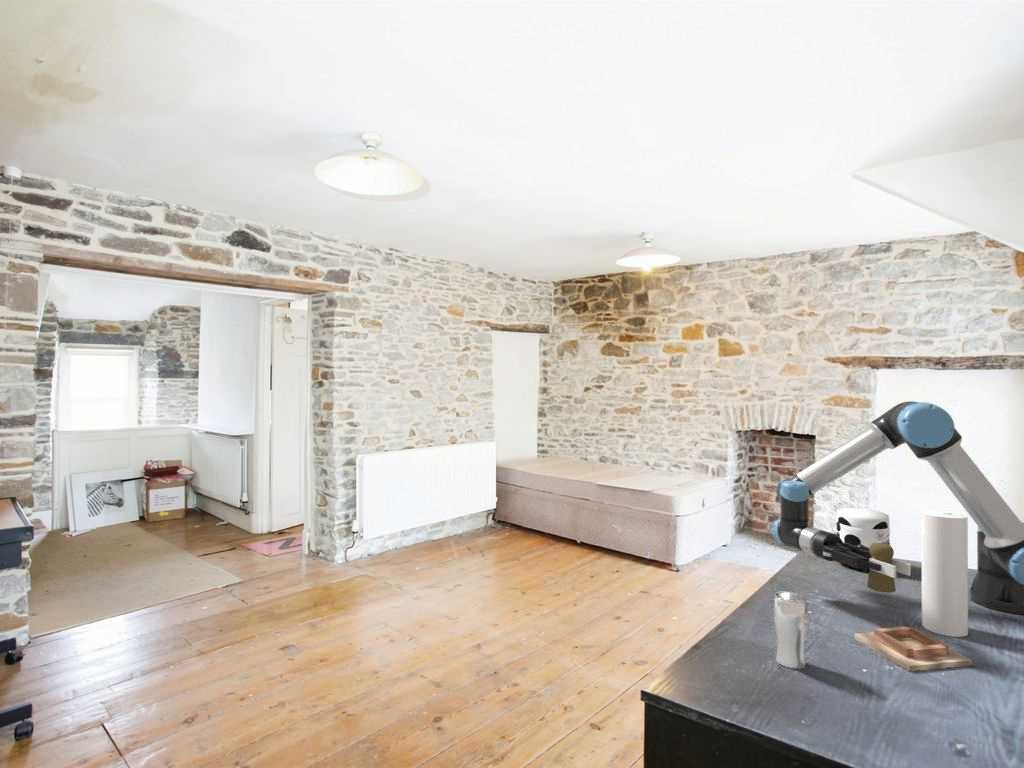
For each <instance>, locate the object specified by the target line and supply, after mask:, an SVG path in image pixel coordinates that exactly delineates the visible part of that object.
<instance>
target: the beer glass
mask: <svg viewBox="0 0 1024 768" xmlns="http://www.w3.org/2000/svg"><path fill="white" fill-rule="evenodd" d="M807 600H808V598H807V597H806V596H805V595H803V594H801V593H798V592H794V591H787V590H781V591H777V592H775V593H774V601H773V621H774V622H773V623H774V628H775V634H776V639H777V640H776V641H777V649H776V653H775V661H776V662H777V663H778V664H779V665H780V664H781V666H782V665H783V666H782V667H784V666H785V668H787V667H788V669H794V670H800V669H803V668H805V667H806V664H807V663H806V658H805V653H804V651H805V649H804V648H805V642H806V641H805V640H806V636H807V630H808V624H809V615H808V614H809V613H808V601H807Z"/></svg>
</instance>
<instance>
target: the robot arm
mask: <svg viewBox="0 0 1024 768" xmlns="http://www.w3.org/2000/svg"><path fill="white" fill-rule="evenodd" d="M868 425H869V426H868V428H866V429H865V430H863V431H862V432H861V433H859V434H857V435H856V436H854V437H853V438H851V439H849V440H848V441H846V442H844V443H843V444H842V445H839V446H838V447H837V448H835V449H834V450H832V451H830V452H829V453H828V454H826V455H824V456H822V457H820V458H819V459H818V460H817V461H815V462H813V463H812V464H809V466H807V467H805V468H804V469H802V470H801V471H799V472H798V473H796V474H795V475H793V476H791V477H789V478H786V479H783V480H781V481H780V482H778V484H777V485H776V490H775V492H776V496H777V498H778V500H779V502H780V503H779V504H780V518H778V519H777V520H775V521H774V523H773V527H772V528H771V533H772V536H773V537H772V538H773V539H774V540H775V541H776V542H777V543H780V544H782V545H784V546H785V547H788V548H792V549H795V550H798V551H801V552H803V553H806V554H809V555H811V557H813V558H815V557H818V558H819V559H822V560H825V561H828V562H836V563H840V564H843V565H846V566H847V567H851V568H854V569H857V570H858V569H860V567H862V568H863V569H862V572H865V573H869V571H870V570H873V571H876V572H879V573H882V574H884V575H887V576H890V577H893V578H894V579H896V578H897V573H898V574H899V573H900V574H902V575H906V576H908V577H909V576H911V572H912V571H911V570H912V569H911V563H908V562H905V561H901V560H898V559H896V558H891V562H892V565H891V564H888V563H885V562H882V561H879V560H875V559H873V558H872V556H871V554H870V552H869V547H866V546H864V545H862V544H858V546H854V545H851V544H849V543H845V542H842V540H841V538H840V537H839V536H838V535H836V534H837V533H833V532H831V531H830V532H829V531H826V530H823V529H820V528H817V527H813V526H810V525H809V524H810V523H809V521H810V519H809V518H810V517H809V512H810V511H809V509H810V508H809V506H810V505H809V504H810V497H811V496H813V495H815V494H816V493H818V492H819V491H820V490H822V489H824V488H825V487H827V486H828V485H830V484H832V483H834V482H835V481H837V480H838V479H840V478H842V477H843V476H845V475H847V474H848V473H850V472H852V471H853V470H854V469H856V468H858V467H860V466H861V465H862V464H865V463H866V462H867V461H869V460H871V459H872V458H874V457H876V456H877V455H879V454H880V453H882V452H883V451H886V450H888V449H891V450H895V449H896V448H897V447H899V446H901V445H903V444H906V445H907V446H908V448H909V449H910V450H911V451H912V453H913V454H914V455H915V457H916V458H917V459H919V460H923V461H927V462H928V464H929V466H931V467H932V468H933V470H934V471H935V473H936V474H937V476H938V477H939V478H940V479H941V480H942V482H943V483H944V484H945V486H946V487H947V488H948V489H949V491H950V492H951V493H952V494H953V496H954V497H955V498H956V499H957V501H958V502H959V503H960V505H961V506H962V507H963V509H965V511H966V513H967V514H968V515H969V517H971V519H972V520H973V521H974V523H975V524H976V526H977V531H976V534H977V535H976V536H977V537H976V538H977V553H976V554H977V560H976V561H977V569H976V570H977V571H976V574H975V577H974V579H973V581H972V583H971V585H970V588H969V599H971V601H972V602H974V603H976V604H978V605H980V606H983V607H986V608H989V609H992V610H996V611H1001V612H1005V613H1011V614H1018V615H1024V522H1022V521H1021V520H1020V518H1019V517H1018V516H1017V514H1016V513H1014V511H1013V510H1012V509H1011V507H1010V506H1009V505H1008V503H1007V502H1006V501H1005V500H1004V498H1003V497H1002V496H1001V495H1000V493H999V492H998V491H997V490H996V489H995V487H994V486H993V484H992V483H991V482H990V480H988V478H987V477H986V476H985V474H984V473H983V472H982V470H980V468H979V467H978V465H976V463H975V462H974V460H973V459H972V458H971V457H970V456H969V454H968V453H967V452H966V450H964V448H963V446H962V445H961V444H962V441H963V437H962V435H961V434H960V433H959V431H958V430H957V429H956V428H955V423H954V420H953V418H952V416H951V414H950V413H949V412H948V411H946V410H945V409H944V408H942V407H940V406H938V405H936V404H934V403H930V402H920V401H918V402H917V401H904V402H901V403H898V404H896V405H894V406H893V407H891V408H890V409H888V410H886V412H884V413H882V414H881V415H879V417H877V418H875V419H874V420H872V421H871V422H870V423H869V424H868ZM868 568H869V569H870V570H868Z"/></svg>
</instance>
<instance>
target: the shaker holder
mask: <svg viewBox="0 0 1024 768" xmlns="http://www.w3.org/2000/svg"><path fill="white" fill-rule="evenodd" d="M853 639H854V640H856V641H858V642H859V643H861V644H862V645H864V646H866V647H868V648H869V649H870V650H873V651H874V652H876V653H878V655H880V656H882V657H884V658H885V659H888V660H889V659H890V660H889V661H891V660H892V661H891V662H893V661H894V662H895V664H896V663H897V665H898V664H899V665H901V666H902V667H901V666H900V667H901V668H903V667H904V668H906V669H907V670H906V669H905V670H906V671H908V670H909V671H910V672H916V671H915V670H920V671H928V670H929V671H930V670H938V669H939V670H940V669H947V668H946V667H951V668H959V667H968V666H969V667H970V666H972V665H973V660H972V659H971V658H969V657H967V656H965V655H963V654H961V653H959V652H957V651H955V650H953V649H951V648H950V645H949V644H947V643H945V642H943V641H942V640H939V639H937V638H935V637H933V636H931V635H929V634H928V633H925V632H923V631H922V630H919V629H917V628H915V627H913V626H912V627H907V626H905V625H904V626H894V627H893V626H892V627H883V628H876V630H873V631H870V632H860V633H859V632H858V633H857V632H856V633H853ZM894 662H893V663H894ZM899 665H898V666H899ZM904 668H903V669H904ZM909 671H908V672H909Z"/></svg>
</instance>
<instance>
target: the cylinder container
mask: <svg viewBox="0 0 1024 768" xmlns="http://www.w3.org/2000/svg"><path fill="white" fill-rule="evenodd" d="M920 515H921V519H920V520H921V626H922V627H923V628H924V629H926V630H928V631H929V632H932V633H936V634H938V635H942V636H945V637H946V636H947V637H954V638H955V637H956V638H958V637H959V638H962V637H966V636H968V634H969V600H968V599H969V591H968V590H969V585H968V583H969V580H968V579H969V574H968V571H969V565H968V564H969V563H968V562H969V560H968V559H969V557H968V554H969V551H968V550H969V548H968V547H969V545H968V544H969V543H968V541H969V537H968V535H969V532H968V531H969V529H968V528H969V527H968V526H969V524H968V521H969V520H968V515H967V514H965V513H962V512H958V511H952V510H947V509H946V510H945V509H943V510H942V509H922V510H921V513H920Z"/></svg>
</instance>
